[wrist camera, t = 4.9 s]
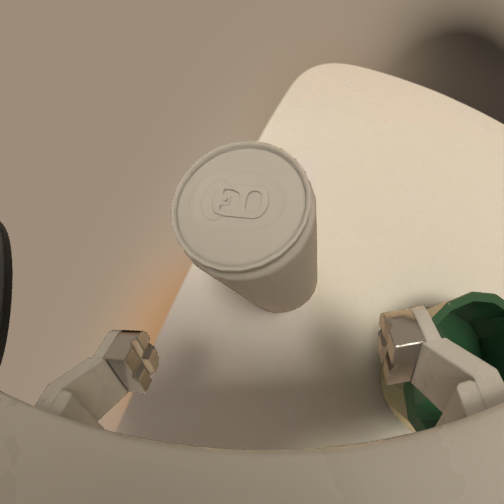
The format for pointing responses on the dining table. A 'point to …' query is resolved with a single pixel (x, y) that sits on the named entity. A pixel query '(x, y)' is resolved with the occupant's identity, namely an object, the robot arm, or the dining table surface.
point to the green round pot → (464, 335)
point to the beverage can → (250, 223)
